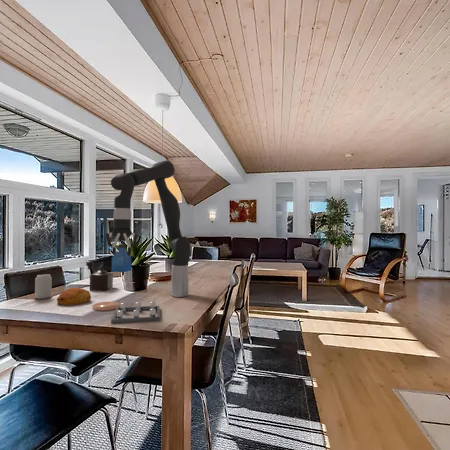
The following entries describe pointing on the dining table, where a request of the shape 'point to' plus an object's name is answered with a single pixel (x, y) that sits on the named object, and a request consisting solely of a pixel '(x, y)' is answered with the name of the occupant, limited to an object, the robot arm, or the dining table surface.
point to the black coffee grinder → (100, 278)
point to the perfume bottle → (121, 260)
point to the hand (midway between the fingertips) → (121, 255)
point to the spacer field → (136, 313)
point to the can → (43, 286)
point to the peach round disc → (105, 306)
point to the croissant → (74, 296)
